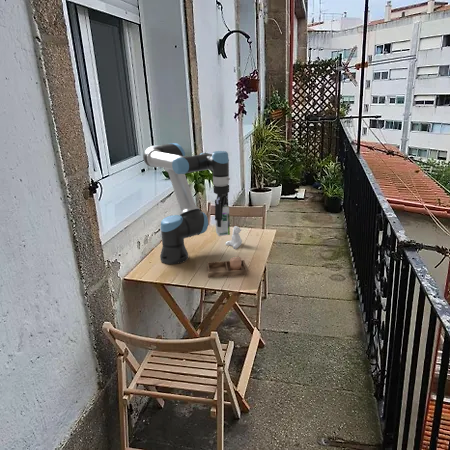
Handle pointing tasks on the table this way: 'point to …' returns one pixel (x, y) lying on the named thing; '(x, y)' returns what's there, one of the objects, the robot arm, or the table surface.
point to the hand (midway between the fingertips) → (222, 229)
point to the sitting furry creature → (235, 238)
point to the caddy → (225, 269)
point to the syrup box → (225, 221)
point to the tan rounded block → (235, 263)
